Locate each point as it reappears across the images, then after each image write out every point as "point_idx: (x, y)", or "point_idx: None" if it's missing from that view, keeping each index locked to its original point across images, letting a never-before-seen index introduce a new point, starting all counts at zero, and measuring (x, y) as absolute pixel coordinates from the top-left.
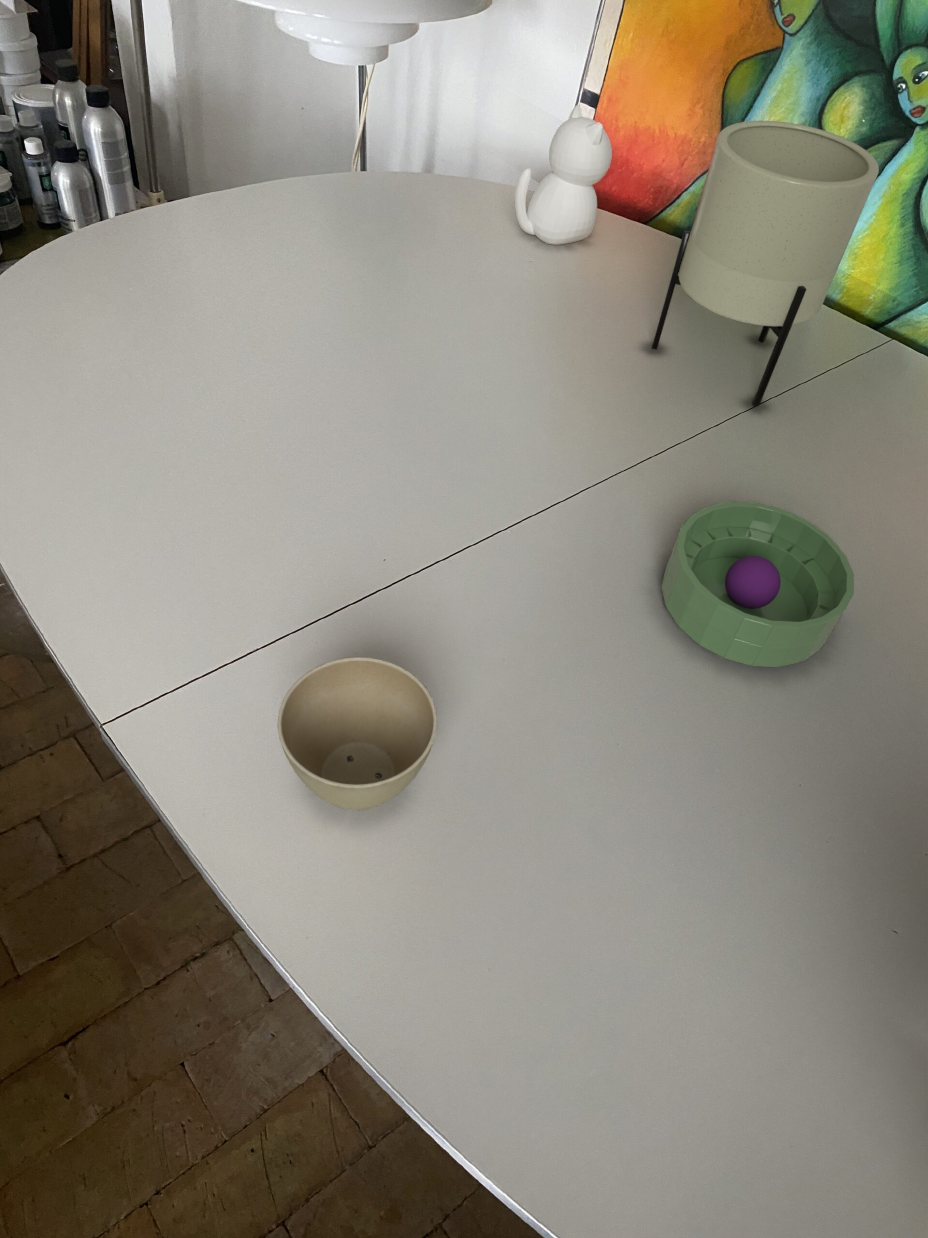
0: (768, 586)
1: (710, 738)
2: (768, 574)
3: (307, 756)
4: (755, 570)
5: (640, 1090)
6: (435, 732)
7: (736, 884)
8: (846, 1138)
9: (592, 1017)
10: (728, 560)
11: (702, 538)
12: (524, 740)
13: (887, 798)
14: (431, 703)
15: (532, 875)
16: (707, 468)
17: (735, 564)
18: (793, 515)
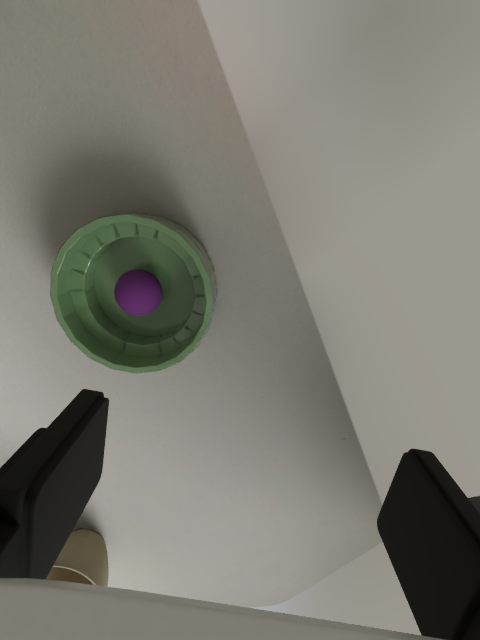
0: (151, 305)
1: (202, 405)
2: (143, 301)
3: (60, 571)
4: (133, 306)
5: (279, 561)
6: (92, 582)
7: (264, 469)
8: (357, 527)
9: (247, 553)
10: (107, 255)
11: (76, 280)
12: (125, 477)
13: (310, 367)
14: (75, 571)
15: (185, 526)
16: (5, 136)
17: (116, 300)
18: (111, 218)
